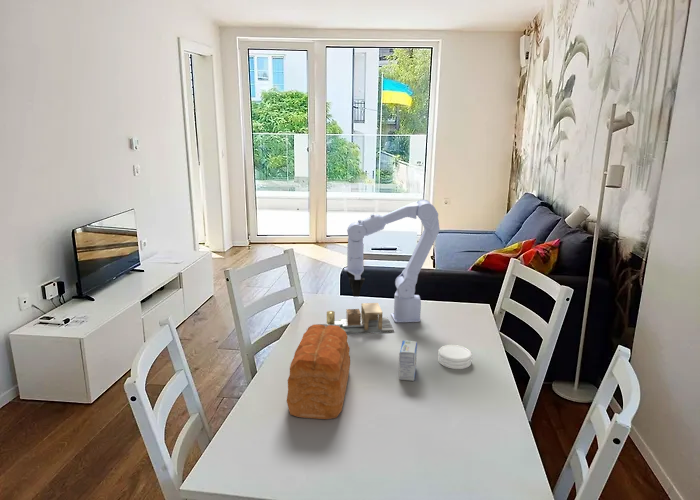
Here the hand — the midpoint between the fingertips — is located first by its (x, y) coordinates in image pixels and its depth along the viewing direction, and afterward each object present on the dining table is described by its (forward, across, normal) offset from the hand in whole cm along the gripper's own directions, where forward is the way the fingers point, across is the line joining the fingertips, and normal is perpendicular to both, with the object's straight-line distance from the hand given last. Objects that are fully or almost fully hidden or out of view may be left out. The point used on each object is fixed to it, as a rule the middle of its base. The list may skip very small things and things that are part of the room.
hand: (354, 292), depth 175 cm
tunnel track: (+10, +8, +3) cm, 13 cm away
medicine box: (+10, +42, +10) cm, 44 cm away
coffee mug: (+10, +30, -14) cm, 35 cm away
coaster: (+10, +36, +26) cm, 46 cm away
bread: (+10, +48, -15) cm, 52 cm away
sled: (+9, +8, -4) cm, 13 cm away
